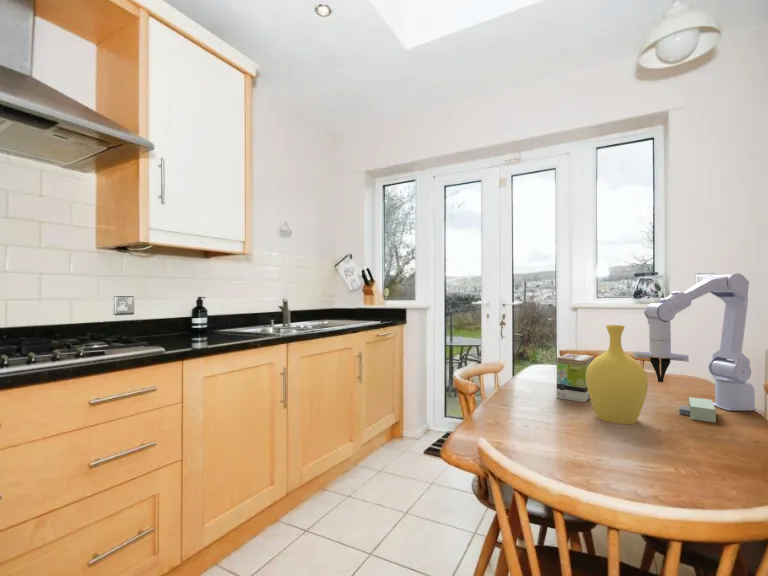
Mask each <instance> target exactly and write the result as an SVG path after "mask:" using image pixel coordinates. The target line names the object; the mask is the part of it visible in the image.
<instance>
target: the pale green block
mask: <svg viewBox="0 0 768 576" xmlns="http://www.w3.org/2000/svg"><path fill="white" fill-rule="evenodd" d="M713 402H714V401H713V400H712V399H708V398H701V397H700V398H697V397H691V396H689V397H688V407H690V415H691V416H690V420H694V421H702V422H708V423H714V424H716V421H717V420H716V418H717V413H716V406H714V404H713Z"/></svg>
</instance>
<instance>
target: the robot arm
mask: <svg viewBox="0 0 768 576" xmlns="http://www.w3.org/2000/svg"><path fill="white" fill-rule="evenodd" d="M749 286H750V281H749V280H748V279H747V278H746V276H744V275H743V274H742V273H738V272H737V273H729V274H728V273H727V274H709V275H708V276H707V277H703V278H702V280H700V281H698V282H697V283H696V284H694V285H693V286H692V287H690V288H688V289H686V290H685V291H681V290H678V291H677V290H676V291H672V292H671V293H670V295H668V296H666V297H665V298H661V299H659V301H658V302H652V303H649V304H648V305H647V307H646V308H645V310H644V311H643V313H644V316H645V318H646V320H647V324H648V332H649V333H648V339H649V351H633V359H634V358H635V359H637V358H638V359H639V358H640V359H650V360H649V361H650V364H651V365H652V367H653V369H654V372H655V374H656V377H657V382H658V383H664V380H665V379H664V378H665V376H666V372H667V370H668V368H669V366H670V364H671V361H677V362H678V361H679V362H689V354H680V353H672V339H671V336H672V334H671V333H672V332H671V325H672V324H671V321H672V320H674V319H675V316H676V315H677V314H678V313H680V312H681V311H683V310H686V309H687V308H688V307H690V306H691V305H692V301H694V300H696V299H698V298H700V297H702V296H704V295H707V294H711V295H713V296H715V297H716V298H718V299H720V300H721V301H722V302H723V303H725V306H724V314H723V322H722V328H721V329H722V330H721V338H720V346H719V350H717V351H715V352H714V353H712V357H711V360H710V361H709V363H708V366H707V368H708V371H709V373H710V374H711V375H712V378H713V379H714V385H715V386H714V390H715V391H714V392H715V397H714V398H715V401H712V402H713V404H714V407H717V408H720V409H723V410H726V411H753V410H754V411H758V409H757V408H755V407H756V403H755V401H756V400H755V399H756V397H755V396H756V395H755V388H754V386H753V384H752V383H751V382H749V379H750V378H751V376H752V369H751V365H750V364H751V359H750V358H748V357H747V356H746V355H745V354H744V353H743V346H744V345H743V344H744V338H745V337H744V335H745V328H746V321H747V312H748V304H749V297H748V293H749ZM748 407H749V408H750V409H752V410H750V409H749V408H748Z"/></svg>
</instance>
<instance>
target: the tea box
mask: <svg viewBox="0 0 768 576" xmlns="http://www.w3.org/2000/svg"><path fill="white" fill-rule="evenodd" d="M594 359H595V357H594V355H587V354H577V353H565V354H562V355H560V356H558V357H557V358H556V398H557V399H562V400H569V401H575V402H581V403H586V402H587V401H588V400H589V399H590V396H589V393H588V389H587V384H586V371H587V368H588V366H589V364H590V363H591V362H592V361H593V360H594Z"/></svg>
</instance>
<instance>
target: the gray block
mask: <svg viewBox="0 0 768 576" xmlns="http://www.w3.org/2000/svg"><path fill="white" fill-rule="evenodd" d="M678 409H679V410H678V411H679V415H682V416H690V417H691V415H690V407H689V406H686V405H685V406H684V405H679V406H678Z"/></svg>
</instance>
